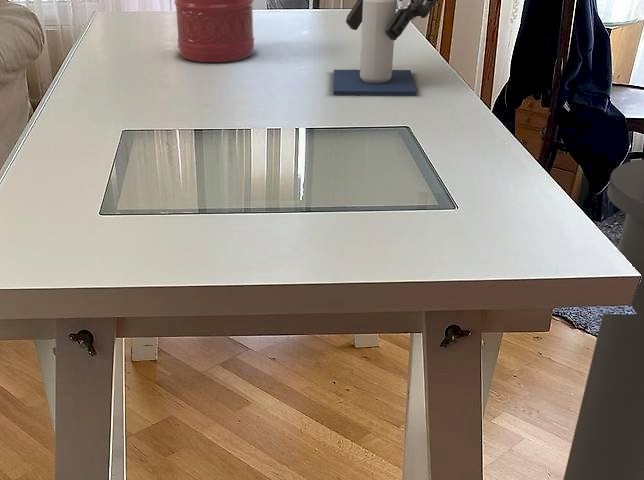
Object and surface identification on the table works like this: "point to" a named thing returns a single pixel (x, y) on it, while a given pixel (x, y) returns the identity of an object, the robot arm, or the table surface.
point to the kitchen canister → (215, 29)
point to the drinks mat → (373, 84)
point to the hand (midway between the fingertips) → (369, 31)
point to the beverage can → (376, 41)
